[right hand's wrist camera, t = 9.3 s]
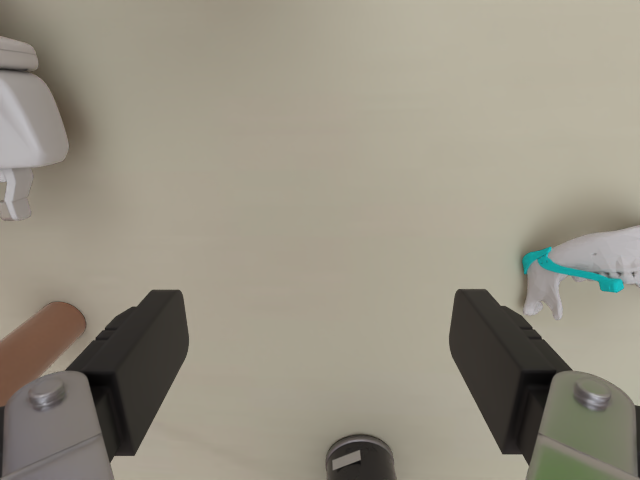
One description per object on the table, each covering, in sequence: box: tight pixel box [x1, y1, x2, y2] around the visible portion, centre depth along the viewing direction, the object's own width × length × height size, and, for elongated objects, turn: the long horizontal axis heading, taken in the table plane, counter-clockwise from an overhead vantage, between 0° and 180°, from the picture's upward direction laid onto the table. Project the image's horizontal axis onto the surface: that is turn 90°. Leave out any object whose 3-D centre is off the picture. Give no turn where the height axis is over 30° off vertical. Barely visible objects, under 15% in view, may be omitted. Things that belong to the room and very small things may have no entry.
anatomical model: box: [522, 225, 640, 320], centre depth 38 cm, size 15×10×10 cm
